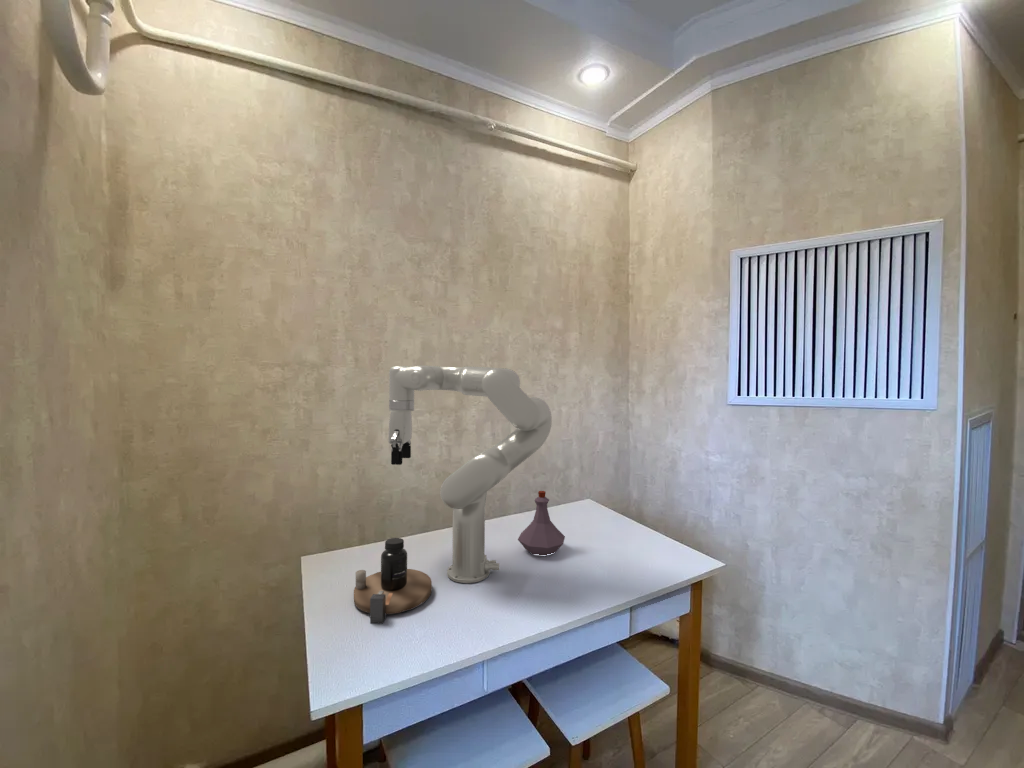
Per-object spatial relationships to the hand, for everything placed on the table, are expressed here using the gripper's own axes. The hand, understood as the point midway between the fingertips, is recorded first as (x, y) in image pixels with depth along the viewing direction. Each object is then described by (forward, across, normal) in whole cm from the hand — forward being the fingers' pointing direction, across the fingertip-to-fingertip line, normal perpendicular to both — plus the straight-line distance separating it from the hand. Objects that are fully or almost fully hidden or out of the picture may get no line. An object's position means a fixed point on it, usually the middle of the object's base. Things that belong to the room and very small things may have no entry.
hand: (401, 461), depth 133 cm
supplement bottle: (+30, +19, +4) cm, 35 cm away
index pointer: (+32, +31, +3) cm, 45 cm away
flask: (+32, -12, +44) cm, 56 cm away
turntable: (+32, +19, +4) cm, 38 cm away
